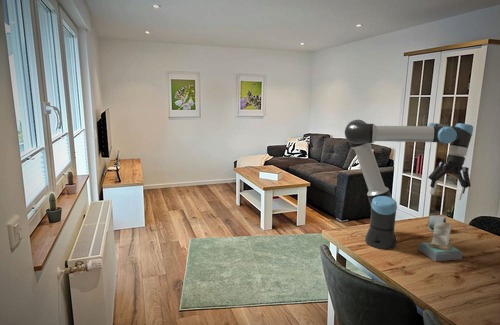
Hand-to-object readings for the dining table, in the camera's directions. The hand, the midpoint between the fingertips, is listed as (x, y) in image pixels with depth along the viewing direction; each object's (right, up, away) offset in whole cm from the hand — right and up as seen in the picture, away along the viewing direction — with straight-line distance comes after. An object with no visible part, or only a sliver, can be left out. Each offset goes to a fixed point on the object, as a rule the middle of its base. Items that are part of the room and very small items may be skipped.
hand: (445, 196), depth 164 cm
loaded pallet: (-7, -23, -7) cm, 25 cm away
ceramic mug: (+9, -21, +24) cm, 33 cm away
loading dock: (-7, -27, -6) cm, 29 cm away
